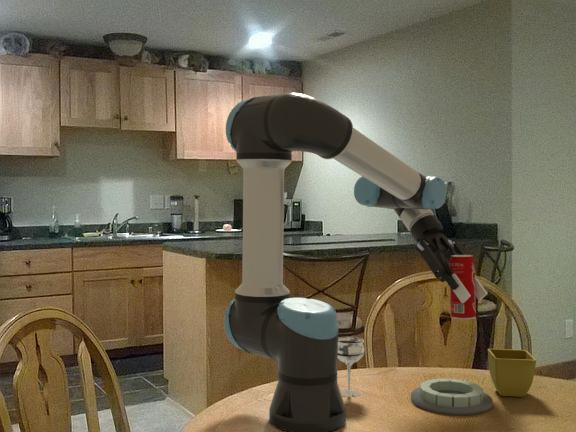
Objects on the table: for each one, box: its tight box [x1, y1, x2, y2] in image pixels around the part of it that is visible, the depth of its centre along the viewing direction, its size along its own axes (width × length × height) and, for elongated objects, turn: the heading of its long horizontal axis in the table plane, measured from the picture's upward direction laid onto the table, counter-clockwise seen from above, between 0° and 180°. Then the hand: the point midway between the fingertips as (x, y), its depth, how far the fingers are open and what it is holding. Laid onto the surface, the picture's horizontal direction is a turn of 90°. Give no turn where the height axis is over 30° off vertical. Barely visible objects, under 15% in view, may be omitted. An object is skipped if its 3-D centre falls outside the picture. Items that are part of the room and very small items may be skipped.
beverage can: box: [449, 254, 477, 321], centre depth 157 cm, size 6×6×15 cm
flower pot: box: [487, 348, 537, 398], centre depth 149 cm, size 9×9×9 cm
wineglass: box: [337, 336, 365, 398], centre depth 148 cm, size 7×7×12 cm
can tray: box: [410, 378, 493, 416], centre depth 143 cm, size 17×17×3 cm
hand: (474, 298), depth 154 cm, fingers closed on beverage can, 6 cm apart
